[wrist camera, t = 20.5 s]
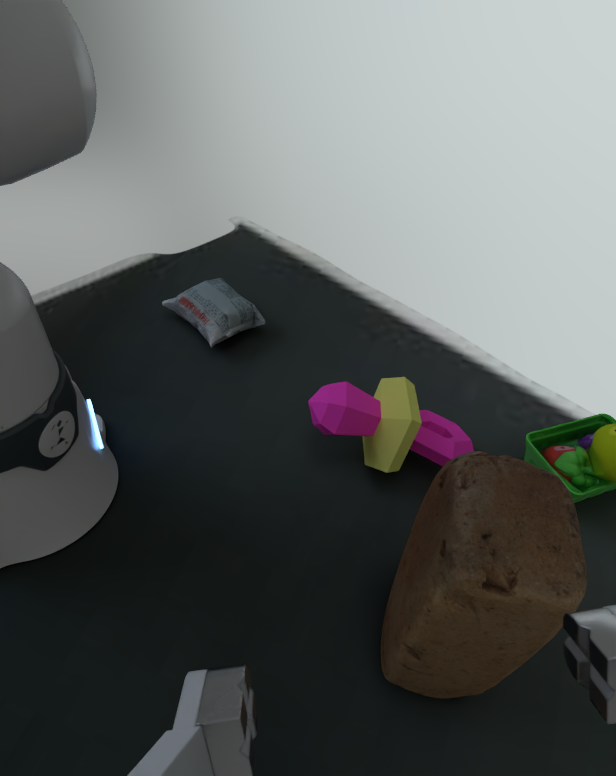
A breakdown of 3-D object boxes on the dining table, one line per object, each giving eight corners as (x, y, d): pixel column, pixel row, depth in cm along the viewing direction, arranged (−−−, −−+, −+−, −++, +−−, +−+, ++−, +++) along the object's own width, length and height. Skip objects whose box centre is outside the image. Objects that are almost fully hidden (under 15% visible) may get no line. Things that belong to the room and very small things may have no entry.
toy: (463, 512, 49) (512, 424, 45) (296, 473, 44) (337, 371, 41) (427, 460, 58) (465, 384, 55) (286, 423, 53) (318, 337, 50)
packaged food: (212, 361, 60) (210, 330, 57) (162, 314, 66) (158, 283, 62) (267, 335, 65) (268, 305, 61) (216, 293, 70) (215, 263, 67)
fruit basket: (584, 440, 56) (640, 369, 48) (645, 504, 50) (719, 436, 42) (503, 463, 52) (548, 391, 44) (558, 536, 47) (622, 468, 39)
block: (469, 719, 36) (612, 624, 21) (369, 689, 36) (442, 578, 22) (470, 578, 43) (576, 439, 29) (387, 556, 44) (450, 410, 30)
